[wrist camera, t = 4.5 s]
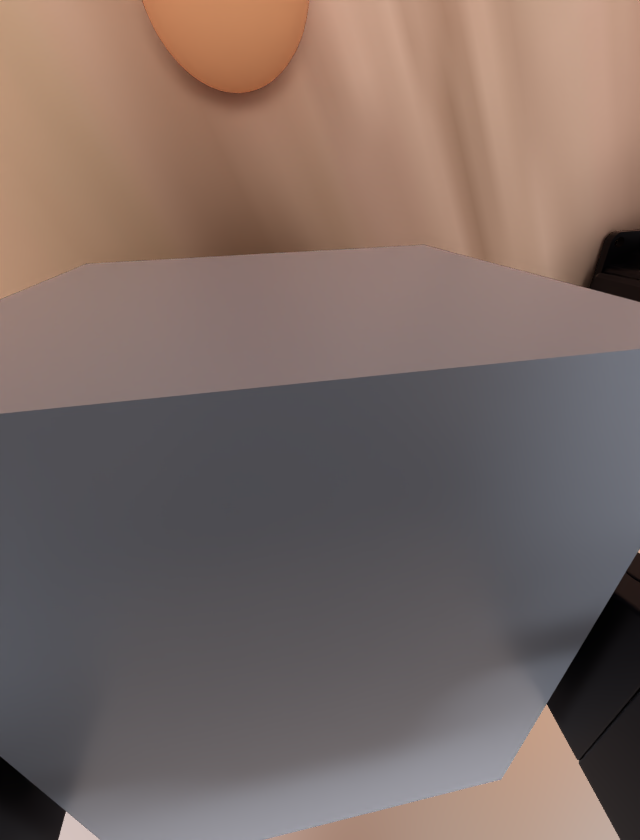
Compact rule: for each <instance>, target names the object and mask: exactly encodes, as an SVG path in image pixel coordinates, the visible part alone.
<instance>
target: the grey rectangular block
mask: <svg viewBox="0 0 640 840" xmlns="http://www.w3.org/2000/svg"><path fill="white" fill-rule="evenodd" d="M639 549H640V302H637V301H633V300H630V299H626V298H622V297H618V296H615V295H611V294H607V293H603V292H600V291H596V290H592V289H588V288H585V287H581V286H577V285H573V284H570V283H566V282H562V281H558V280H554V279H551V278H547V277H543V276H539V275H536V274H532V273H528V272H524V271H521V270H517V269H513V268H509V267H506V266H502V265H498V264H494V263H491V262H487V261H483V260H479V259H475V258H472V257H468V256H464V255H460V254H457V253H453V252H449V251H445V250H442V249H438V248H434V247H430V246H427V245H409V246H391V247H374V248H356V249H338V250H320V251H302V252H285V253H267V254H249V255H231V256H213V257H196V258H178V259H160V260H142V261H124V262H107V263H89V264H85V265H82V266H80V267H77V268H75V269H73V270H70V271H68V272H65V273H63V274H60V275H58V276H56V277H53V278H51V279H48V280H46V281H43V282H41V283H39V284H36V285H34V286H31V287H29V288H27V289H24V290H22V291H19V292H17V293H14V294H12V295H10V296H7V297H5V298H2V299H0V756H1V757H2V758H3V759H4V760H5V761H7V762H8V763H9V764H10V765H11V766H13V767H14V768H15V769H16V770H17V771H19V772H20V773H21V774H22V775H23V776H25V777H26V778H27V779H28V780H29V781H31V782H32V783H33V784H34V785H35V786H37V787H38V788H39V789H40V790H41V791H42V792H44V793H45V794H46V795H47V796H48V797H50V798H51V799H52V800H53V801H54V802H56V803H57V804H58V805H59V806H60V807H62V808H63V809H64V810H65V811H66V812H68V813H69V814H70V815H71V816H73V817H74V818H75V819H76V820H77V821H79V822H80V823H81V824H82V825H83V826H84V827H86V828H87V829H88V830H89V831H90V832H92V833H93V834H94V835H95V836H96V837H98V838H99V839H100V840H264V839H268V838H272V837H276V836H280V835H284V834H288V833H292V832H296V831H300V830H304V829H308V828H311V827H316V826H320V825H323V824H327V823H331V822H335V821H339V820H343V819H347V818H351V817H355V816H359V815H362V814H367V813H371V812H375V811H379V810H383V809H386V808H390V807H394V806H398V805H402V804H406V803H410V802H414V801H418V800H422V799H426V798H429V797H434V796H438V795H442V794H445V793H450V792H454V791H457V790H461V789H465V788H469V787H473V786H477V785H481V784H485V783H488V782H493V781H497V780H501V779H502V777H503V775H504V774H505V772H506V771H507V769H508V767H509V766H510V764H511V762H512V761H513V759H514V757H515V756H516V754H517V752H518V750H519V749H520V747H521V746H522V744H523V742H524V740H525V739H526V737H527V736H528V734H529V732H530V730H531V729H532V727H533V726H534V724H535V722H536V720H537V719H538V717H539V716H540V714H541V712H542V710H543V709H544V707H545V706H546V704H547V702H548V701H549V699H550V697H551V696H552V694H553V692H554V691H555V689H556V687H557V686H558V684H559V682H560V681H561V679H562V677H563V676H564V674H565V672H566V671H567V669H568V667H569V666H570V664H571V662H572V661H573V659H574V657H575V656H576V654H577V652H578V651H579V649H580V647H581V646H582V644H583V642H584V641H585V639H586V637H587V636H588V634H589V632H590V631H591V629H592V627H593V626H594V624H595V622H596V621H597V619H598V617H599V616H600V614H601V612H602V611H603V609H604V607H605V606H606V604H607V602H608V601H609V599H610V597H611V596H612V594H613V592H614V591H615V589H616V587H617V586H618V584H619V582H620V581H621V579H622V577H623V576H624V574H625V572H626V571H627V569H628V567H629V566H630V564H631V562H632V561H633V559H634V557H635V556H636V554H637V552H638V551H639Z"/></svg>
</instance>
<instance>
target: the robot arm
mask: <svg viewBox="0 0 640 840" xmlns="http://www.w3.org/2000/svg"><path fill="white" fill-rule="evenodd" d="M617 239H618V241H617V243H616V245H615V242H616V240H617ZM590 289H592V290H596V291H600V292H603V293H607V294H611V295H615V296H618V297H622V298H626V299H630V300H633V301H637V302H640V230H625V231H615V232H612V233H611V234H609V236H608V237H607V238H606V240H605V242H604V245H603V248H602V251H601V254H600V257H599V260H598V264H597V267H596V270H595V273H594V276H593V279H592V282H591V286H590ZM547 705H548V707H549V709H550V711H551V713H552V714H553V716H554V718H555V720H556V722H557V723H558V725H559V727H560V729H561V731H562V733H563V734H564V736H565V738H566V740H567V742H568V744H569V746H570V747H571V749H572V751H573V753H574V755H575V756H576V758H577V760H579V765H580V766H581V768H582V770H583V772H584V774H585V776H586V777H587V779H588V781H589V783H590V785H591V787H592V788H593V790H594V792H595V794H596V796H597V798H598V799H599V801H600V803H601V805H602V807H603V809H604V810H605V812H606V814H607V816H608V818H609V819H610V821H611V823H612V825H613V827H614V829H615V831H616V832H617V834H618V836H619V838H620V840H640V553H638V552H637V554H636V556H635V557H634V559H633V561H632V562H631V564H630V566H629V567H628V569H627V571H626V572H625V574H624V576H623V577H622V579H621V581H620V582H619V584H618V586H617V587H616V589H615V591H614V592H613V594H612V596H611V597H610V599H609V601H608V602H607V604H606V606H605V607H604V609H603V611H602V612H601V614H600V616H599V617H598V619H597V621H596V622H595V624H594V626H593V627H592V629H591V631H590V632H589V634H588V636H587V637H586V639H585V641H584V642H583V644H582V646H581V647H580V649H579V651H578V652H577V654H576V656H575V657H574V659H573V661H572V662H571V664H570V666H569V667H568V669H567V671H566V672H565V674H564V676H563V677H562V679H561V681H560V682H559V684H558V686H557V687H556V689H555V691H554V692H553V694H552V696H551V697H550V699H549V701H548V702H547ZM65 813H66V811H65V810H64V809H63V808H62V807H60V806H59V805H58V804H57V803H56V802H54V801H53V800H52V799H51V798H50V797H48V796H47V795H46V794H45V793H44V792H42V791H41V790H40V789H39V788H38V787H37V786H35V785H34V784H33V783H32V782H31V781H29V780H28V779H27V778H26V777H25V776H23V775H22V774H21V773H20V772H19V771H17V770H16V769H15V768H14V767H13V766H11V765H10V764H9V763H8V762H7V761H5V760H4V759H3V758H2V757H1V756H0V840H58V838H59V835H60V831H61V827H62V824H63V820H64V816H65Z"/></svg>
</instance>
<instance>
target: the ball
mask: <svg viewBox="0 0 640 840" xmlns="http://www.w3.org/2000/svg"><path fill="white" fill-rule="evenodd" d="M142 1H143V4H144V7H145V9H146V12H147V14H148V16H149V19H150V21H151V23H152V25H153V27H154V29H155V31H156V33H157V34H158V36H159V38H160V40H161V41H162V43H163V44H164V45H165V47H166V48H167V50H168V51H169V52H170V54H171V55H172V56H173V57H174V58H175V60H176V61H177V62H178V63H179V64H180V65H181V66H182V67H183V68H184V69H185V70H186V71H187V72H188V73H189V74H191V75H192V76H193V77H195V78H196V79H197V80H199V81H200V82H202V83H204V84H206V85H207V86H209V87H212V88H214V89H217V90H220V91H224V92H229V93H244V92H250V91H254V90H257V89H259V88H261V87H264V86H266V85H267V84H269V83H270V82H271V81H273V80H274V79H275V78H276V77H277V76H278V75H279V74H281V73H282V71H283V70H284V69H285V67H286V66H287V65H288V64H289V62H290V60H291V58H292V57H293V55H294V53H295V52H296V49H297V47H298V45H299V42H300V40H301V37H302V34H303V31H304V27H305V23H306V18H307V13H308V6H309V0H142Z"/></svg>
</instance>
